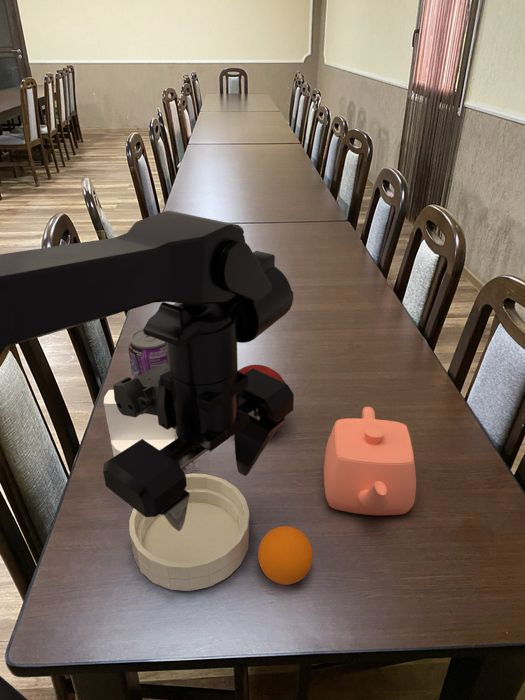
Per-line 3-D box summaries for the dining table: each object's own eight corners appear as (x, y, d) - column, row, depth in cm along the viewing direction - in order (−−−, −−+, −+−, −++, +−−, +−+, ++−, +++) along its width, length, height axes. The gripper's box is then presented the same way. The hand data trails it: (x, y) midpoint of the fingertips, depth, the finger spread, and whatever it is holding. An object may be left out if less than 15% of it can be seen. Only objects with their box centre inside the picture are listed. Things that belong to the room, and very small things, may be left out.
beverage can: (144, 385, 92) (135, 323, 85) (184, 389, 91) (179, 326, 85) (129, 410, 86) (119, 346, 79) (172, 414, 85) (166, 350, 79)
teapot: (401, 451, 78) (412, 393, 72) (421, 556, 63) (437, 492, 57) (322, 446, 79) (327, 388, 73) (322, 548, 63) (328, 484, 58)
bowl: (189, 618, 56) (187, 591, 54) (110, 547, 63) (104, 521, 61) (272, 536, 65) (272, 510, 62) (194, 483, 72) (192, 458, 70)
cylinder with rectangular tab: (109, 489, 71) (95, 418, 65) (123, 444, 79) (112, 376, 73) (177, 489, 71) (170, 418, 65) (185, 443, 79) (179, 376, 73)
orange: (289, 606, 57) (291, 571, 54) (247, 574, 60) (246, 539, 57) (321, 569, 61) (325, 533, 58) (280, 541, 64) (281, 506, 61)
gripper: (212, 300, 55) (218, 419, 63) (48, 378, 43) (82, 514, 51) (300, 335, 49) (294, 462, 57) (137, 438, 37) (159, 581, 45)
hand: (211, 498), depth 53 cm, fingers open, 9 cm apart
